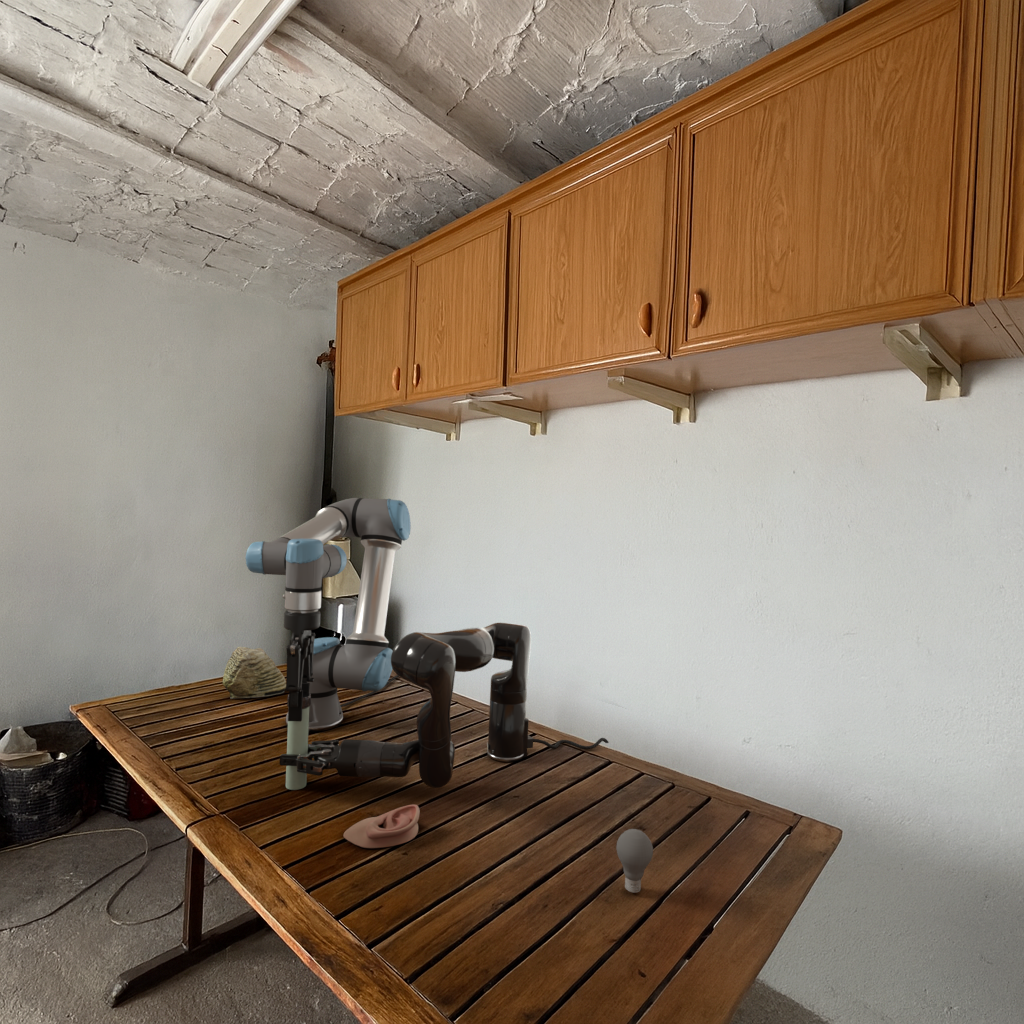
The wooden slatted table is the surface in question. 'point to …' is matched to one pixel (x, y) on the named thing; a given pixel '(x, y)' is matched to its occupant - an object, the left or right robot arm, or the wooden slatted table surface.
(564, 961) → the wooden slatted table surface
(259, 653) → the fossil
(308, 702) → the lid
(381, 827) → the anatomical model
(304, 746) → the pale green tube
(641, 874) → the light bulb
